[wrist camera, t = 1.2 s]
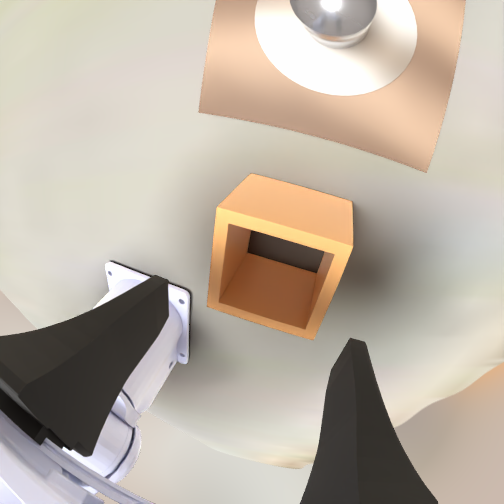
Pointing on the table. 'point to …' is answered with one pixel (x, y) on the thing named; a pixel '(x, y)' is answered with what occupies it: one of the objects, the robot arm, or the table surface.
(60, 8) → the table surface
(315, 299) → the collar
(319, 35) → the steel post
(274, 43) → the post base
